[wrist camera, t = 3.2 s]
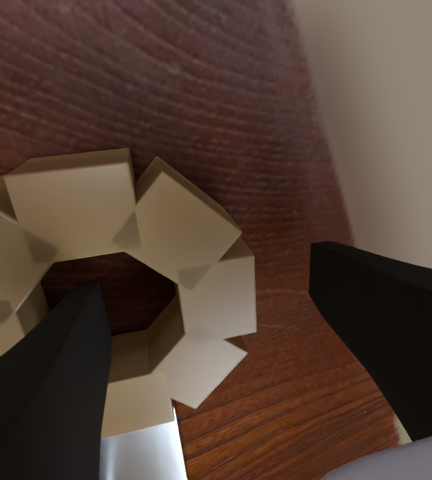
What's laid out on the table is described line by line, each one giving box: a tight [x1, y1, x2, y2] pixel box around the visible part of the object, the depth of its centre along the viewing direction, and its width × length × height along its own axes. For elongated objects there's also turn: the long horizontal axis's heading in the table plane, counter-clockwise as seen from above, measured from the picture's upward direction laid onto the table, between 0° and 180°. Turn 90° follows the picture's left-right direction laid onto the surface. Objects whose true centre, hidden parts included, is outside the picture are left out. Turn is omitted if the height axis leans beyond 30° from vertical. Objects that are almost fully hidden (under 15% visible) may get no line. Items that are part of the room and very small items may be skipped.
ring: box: [0, 148, 257, 439], centre depth 11 cm, size 9×9×2 cm
